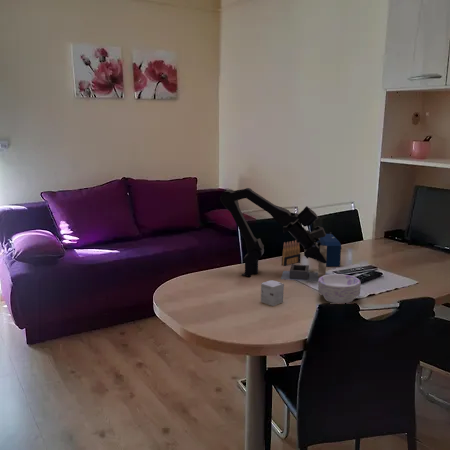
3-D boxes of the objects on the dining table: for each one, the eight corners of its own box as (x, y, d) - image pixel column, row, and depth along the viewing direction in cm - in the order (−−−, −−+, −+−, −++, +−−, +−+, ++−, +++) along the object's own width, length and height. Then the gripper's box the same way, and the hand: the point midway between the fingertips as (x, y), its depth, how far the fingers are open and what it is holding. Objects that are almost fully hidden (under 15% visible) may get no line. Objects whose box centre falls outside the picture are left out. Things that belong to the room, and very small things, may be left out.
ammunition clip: (284, 268, 212) (284, 242, 210) (281, 267, 214) (281, 241, 211) (300, 264, 219) (301, 239, 216) (297, 263, 220) (298, 238, 218)
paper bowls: (309, 295, 177) (310, 275, 175) (343, 290, 182) (344, 271, 180) (332, 309, 163) (333, 288, 161) (368, 304, 168) (369, 283, 167)
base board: (280, 281, 194) (280, 278, 193) (283, 272, 205) (283, 270, 205) (339, 285, 188) (339, 283, 188) (339, 276, 200) (339, 274, 200)
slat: (318, 277, 193) (319, 248, 191) (318, 273, 198) (319, 245, 196) (325, 278, 193) (326, 248, 190) (325, 274, 197) (326, 245, 195)
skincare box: (260, 302, 170) (260, 283, 169) (271, 298, 174) (271, 279, 173) (273, 306, 166) (273, 287, 164) (283, 302, 170) (284, 283, 169)
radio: (342, 269, 211) (344, 226, 207) (322, 269, 211) (324, 225, 207) (332, 256, 231) (334, 217, 227) (315, 256, 231) (316, 217, 227)
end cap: (289, 278, 194) (289, 270, 193) (291, 272, 203) (291, 264, 202) (307, 279, 192) (307, 271, 192) (308, 273, 201) (308, 265, 201)
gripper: (313, 225, 183) (341, 254, 182) (315, 217, 200) (340, 243, 200) (292, 243, 186) (319, 272, 186) (296, 234, 204) (321, 259, 204)
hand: (326, 261), depth 194 cm, fingers closed on slat, 5 cm apart
